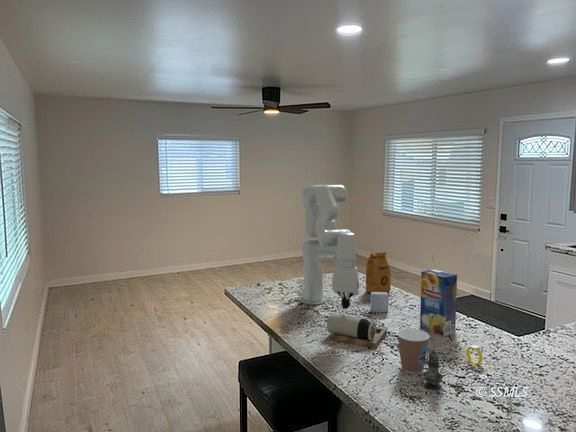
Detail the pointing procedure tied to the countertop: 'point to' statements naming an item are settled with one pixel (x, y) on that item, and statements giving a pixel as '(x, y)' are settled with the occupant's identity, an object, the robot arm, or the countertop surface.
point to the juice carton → (438, 301)
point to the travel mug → (351, 327)
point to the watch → (478, 354)
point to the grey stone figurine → (433, 372)
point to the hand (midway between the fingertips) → (345, 307)
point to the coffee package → (377, 273)
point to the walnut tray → (367, 343)
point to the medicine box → (379, 302)
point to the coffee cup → (413, 349)
